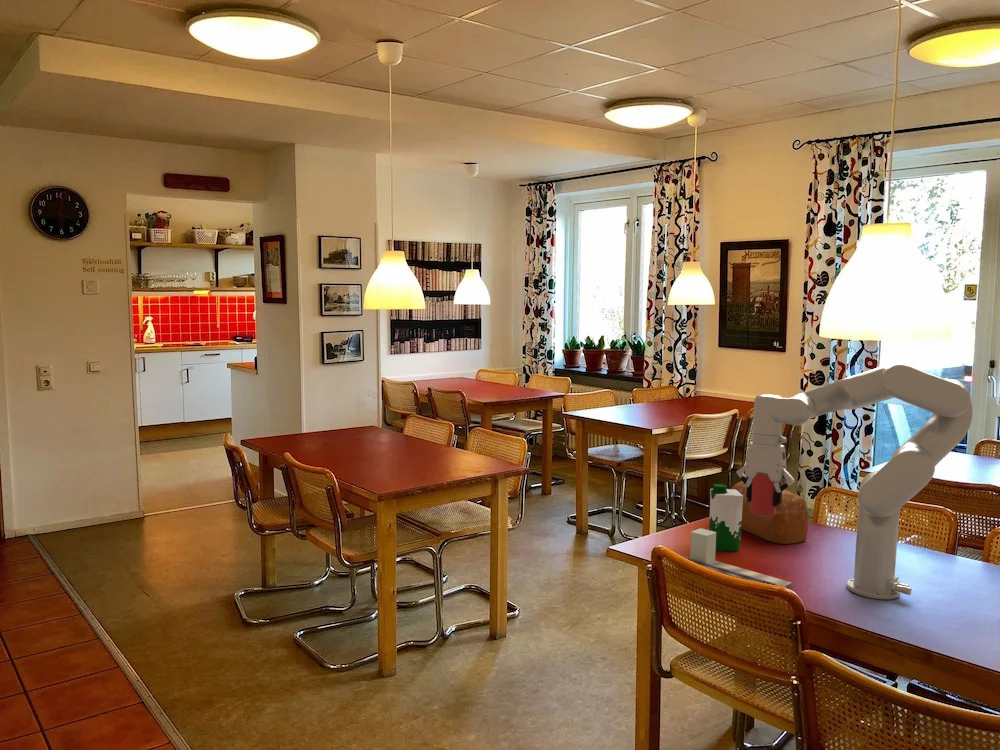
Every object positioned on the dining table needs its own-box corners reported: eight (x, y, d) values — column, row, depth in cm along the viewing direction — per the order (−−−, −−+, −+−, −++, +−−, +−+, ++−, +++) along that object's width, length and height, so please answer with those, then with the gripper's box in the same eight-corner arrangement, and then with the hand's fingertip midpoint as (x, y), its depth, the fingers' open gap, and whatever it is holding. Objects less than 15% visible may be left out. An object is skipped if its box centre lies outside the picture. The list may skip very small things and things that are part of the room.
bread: (776, 546, 235) (779, 496, 234) (722, 522, 259) (724, 477, 258) (811, 541, 240) (814, 493, 239) (755, 519, 264) (757, 474, 263)
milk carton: (705, 545, 235) (708, 481, 233) (734, 545, 235) (738, 482, 233) (712, 554, 226) (715, 488, 224) (743, 555, 226) (746, 489, 224)
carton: (714, 563, 216) (716, 532, 215) (705, 567, 212) (707, 535, 212) (699, 558, 219) (700, 528, 219) (689, 562, 216) (691, 531, 215)
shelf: (791, 586, 202) (792, 575, 202) (774, 596, 195) (774, 584, 195) (698, 559, 222) (698, 549, 222) (679, 567, 215) (679, 556, 215)
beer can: (778, 513, 212) (781, 471, 211) (771, 519, 207) (773, 475, 206) (755, 509, 216) (757, 467, 215) (747, 514, 211) (749, 471, 210)
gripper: (803, 441, 207) (799, 506, 209) (741, 433, 218) (738, 495, 219) (794, 445, 201) (790, 512, 203) (730, 437, 212) (727, 500, 214)
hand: (763, 502), depth 211 cm, fingers closed on beer can, 6 cm apart
